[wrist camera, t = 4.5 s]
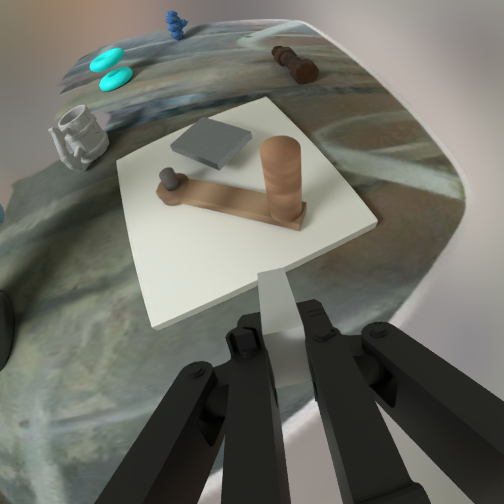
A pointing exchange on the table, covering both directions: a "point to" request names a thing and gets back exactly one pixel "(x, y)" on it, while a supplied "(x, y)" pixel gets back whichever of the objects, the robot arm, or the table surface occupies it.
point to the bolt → (296, 64)
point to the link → (247, 201)
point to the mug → (79, 137)
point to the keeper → (211, 142)
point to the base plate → (228, 219)
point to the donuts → (115, 76)
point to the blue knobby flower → (175, 24)
